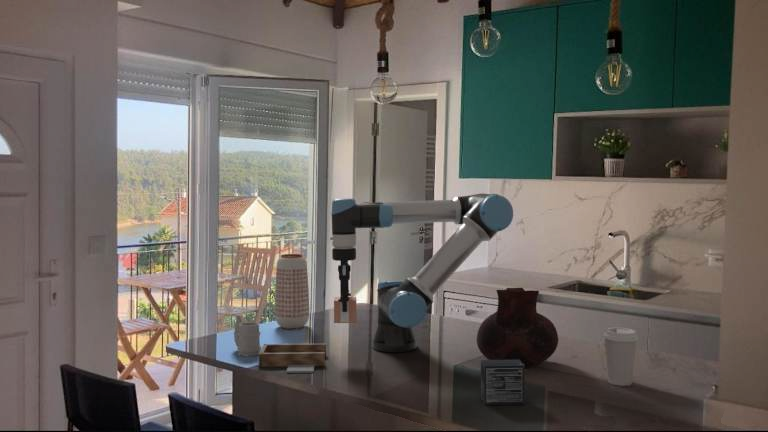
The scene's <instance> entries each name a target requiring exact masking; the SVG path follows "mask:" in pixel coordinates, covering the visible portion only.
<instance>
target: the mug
mask: <svg viewBox="0 0 768 432" xmlns="http://www.w3.org/2000/svg"><path fill="white" fill-rule="evenodd" d="M234 327H235V328H234V331H233V337H234V339H233V340H234V343H235V346H236V347H237V348H236V349H237V351H238V356H241V357H242V356H243V357H252V356H259V352H260V351H261V349H262V346H261V343H260V336H261V331H260V324H259V322H255V321H250V322H249V321H247V322H243V320H242V317H241V315H240V314H237V315H236V321H235V326H234Z"/></svg>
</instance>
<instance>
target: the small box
mask: <svg viewBox="0 0 768 432" xmlns="http://www.w3.org/2000/svg"><path fill="white" fill-rule="evenodd" d="M480 399H481V401H482V402H483V405H484V406H508V405H509V406H512V405H514V406H515V405H518V406H519V405H520V406H521V405H525V403H526V401H525V368H524V364H523V363H522V362H521V361H520V360H489V359H481V360H480Z"/></svg>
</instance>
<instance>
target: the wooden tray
mask: <svg viewBox="0 0 768 432" xmlns="http://www.w3.org/2000/svg"><path fill="white" fill-rule="evenodd" d="M326 357H327V343H263V346H261V350H260V352H259V354H258V367H259V368H260V367H264V368H266V367H270V368H271V367H274V368H275V367H288V365H309V364H315V367H325V364H326V363H325V358H326Z"/></svg>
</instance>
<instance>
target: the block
mask: <svg viewBox="0 0 768 432" xmlns="http://www.w3.org/2000/svg"><path fill="white" fill-rule="evenodd" d="M348 297H349V322H341V319H340V302H338V299H340V298H341V297H340V296H334V299H333V323H334V324H357V296H348Z"/></svg>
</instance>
